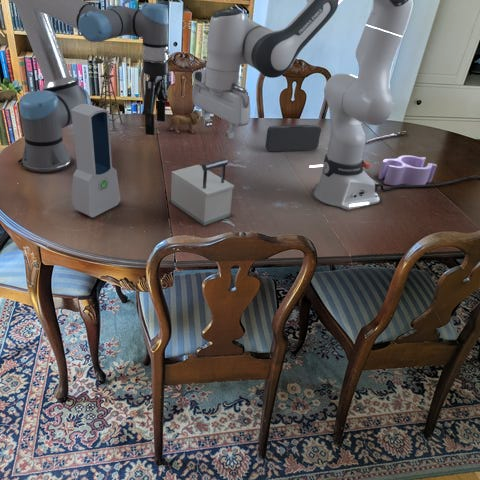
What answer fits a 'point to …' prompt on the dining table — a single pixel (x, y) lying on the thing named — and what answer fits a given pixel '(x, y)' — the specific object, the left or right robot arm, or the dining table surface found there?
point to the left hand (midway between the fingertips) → (155, 127)
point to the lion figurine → (186, 120)
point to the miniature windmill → (106, 76)
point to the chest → (200, 202)
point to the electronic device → (93, 162)
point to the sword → (384, 137)
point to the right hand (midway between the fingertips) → (218, 131)
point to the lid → (205, 177)
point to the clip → (406, 171)
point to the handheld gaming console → (292, 137)
